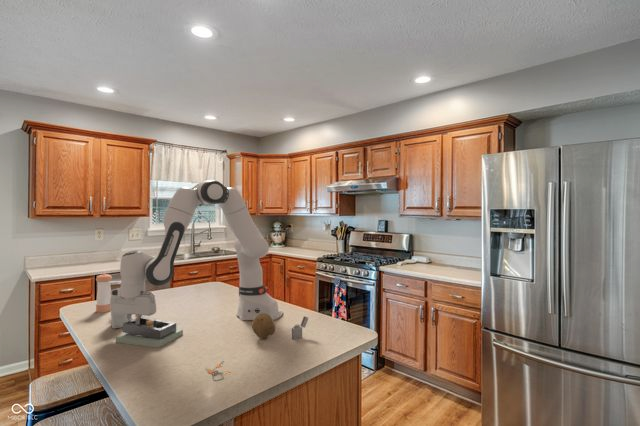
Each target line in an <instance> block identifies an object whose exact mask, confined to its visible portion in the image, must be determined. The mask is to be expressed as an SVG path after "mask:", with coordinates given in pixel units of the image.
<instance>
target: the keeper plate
mask: <svg viewBox="0 0 640 426" xmlns="http://www.w3.org/2000/svg"><path fill="white" fill-rule="evenodd" d="M153 324H154V320H148V321H146V325H147V326H150V327H154V325H153ZM183 335H184V330H183V329H182V328H176V332H174V333H172V334H170V335H168V336H166V337H165V338H163V339H161V340H159V339H154V338H149V337H144V336H139V335H134V334H129V333H124V332H123V333H122V334H120V335H118V336H115V343H117V344H118V343H119V344H127V345H136V346H141V347H142V346H143V347H149V348H150V347H151V348H160V347H162V346H164V345H167V344H168V343H169V342H172V341H174V340H175V339H177V338H179V337H181V336H183Z"/></svg>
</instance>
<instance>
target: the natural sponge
mask: <svg viewBox="0 0 640 426" xmlns="http://www.w3.org/2000/svg"><path fill="white" fill-rule="evenodd" d="M274 322H275V321H274V320H272V318H271V317H270V316H269V315H268V314H265V313H262V314H259V315H258V316H256V317H255V319H254V320H252V323H251V328H252V331H253V333H254V334H255V336H257V337H258V338H259V339H260V340H266V339H268V337H271V336H272V335H274V333H276V326H275V323H274Z"/></svg>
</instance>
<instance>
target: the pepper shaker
mask: <svg viewBox="0 0 640 426" xmlns="http://www.w3.org/2000/svg"><path fill="white" fill-rule="evenodd" d="M112 279H113V276H112V275H111V274H108V273H106V272H103V273H102V274H100V275H97V276H96V278H95V281H96V282H97V294H96V305H95V311H96V313H107V312H111V309H110V298H111V294H110V291H111V290H112V289H111V282H112Z"/></svg>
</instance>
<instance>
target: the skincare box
mask: <svg viewBox="0 0 640 426" xmlns="http://www.w3.org/2000/svg"><path fill="white" fill-rule="evenodd" d="M111 296H112V295H111ZM110 316H111V317H110V318H111V327H112V329H118V328H119V329H120V328H123V323H125V322H127V319H126V317H125V313H115V312H112V311H110Z"/></svg>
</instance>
